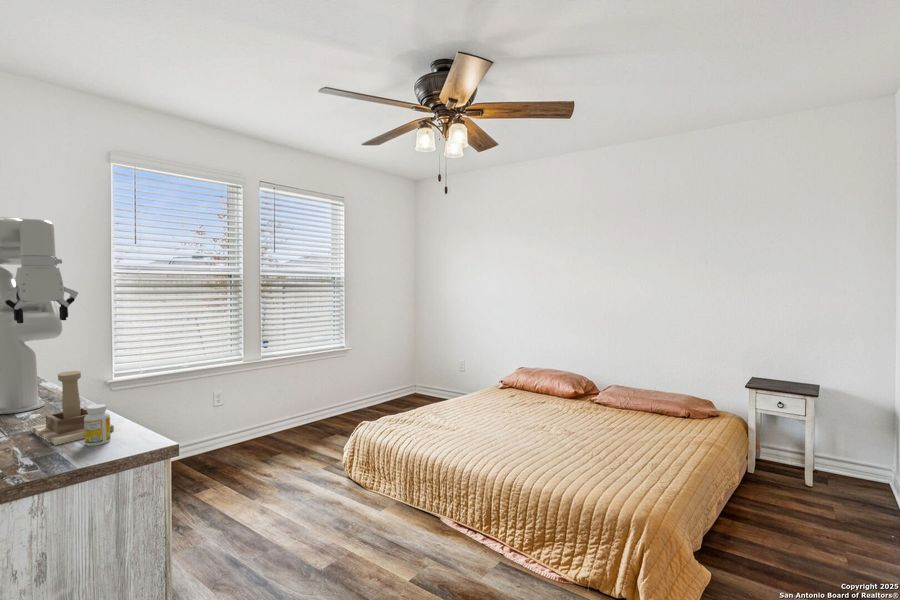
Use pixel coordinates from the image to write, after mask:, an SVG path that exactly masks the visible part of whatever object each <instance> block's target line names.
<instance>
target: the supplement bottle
mask: <svg viewBox="0 0 900 600" xmlns="http://www.w3.org/2000/svg"><path fill="white" fill-rule="evenodd" d="M86 408H87V413H88V415H86V416H85V418H84V432H85V438H84V445H85V446H88V447H94V446H95V447H96V446H101V445H104V444H107V443H109V442H110V441H111V432H110V424H111V417H110V415H111V414H110V413H109V412H107V405H106V404H104V403H102V404H101V403H99V404H98V403H97V404H92V405H90V406H87V407H86Z"/></svg>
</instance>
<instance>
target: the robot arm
mask: <svg viewBox="0 0 900 600" xmlns="http://www.w3.org/2000/svg"><path fill="white" fill-rule="evenodd" d="M55 238H56V237H55V225H54V224H53V222H51V221H50V220H46V219H35V218H34V219H33V218H20V217H9V216H8V217H5V216H0V415H8V414H17V413H22V412H28V411H32V410H36V409H40V408H42V407H44V406H46V401H44V400H41V399H40V398H39V386H38V370H37V369H38V367H37V365H38V364H37V355H36V352H35V351H34V350H33V348H31V347H30V346H28V345H27V344H26V343H25V342H30V341H43V340H51V339H55V338H58V337H60V335H61V334H62V332H63V323H62V321H67V318H68V317H69V309H68V307H70V306H71V304H73V303H74V301H76V300H75V299H76V298H77V297H78V294H79V292H78V291H77V290H73V289H71V288H69V287H65V286H64V282H63V276H62V273H61V270H60V267H57V266H58V265H60V264H61V265H62V264H63V260H62V258H57V255H56V243H55V242H56V240H55ZM1 265H12V266H13V265H15V266H19V265H21V266H20V267H17V268H16V273H15V275H14V274H13V273H12V272H10V271H9V270H8V269H7V268H5V267H2V266H1ZM65 293H67V294H69V297H68V298H67V299H65ZM56 303H58V304H59V305H60V306H59V307H58V306H57V305H56ZM57 307H58V308H57Z"/></svg>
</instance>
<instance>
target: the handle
mask: <svg viewBox="0 0 900 600" xmlns="http://www.w3.org/2000/svg"><path fill="white" fill-rule="evenodd" d="M81 374H82V372H81V371H80V370H70V371H62V372H60V373H58V374H57V379H58V381H60V382H61V383H62V384H61V385H62V389H61V390H62V392H61V394H62V396H61V397H62V398H61V399H62V400H61V401H62V402H61V403H62V404H61V405H62V407H61V408H62V409H61V410H62V412H63V417H64V419H68V418H73V417H77V416H80V413H81V412H80V411H81V408H82V407H81V400H80V399H81V398H80V391H79V383H78V380H79V379H81V378H82V377H81V376H82V375H81Z"/></svg>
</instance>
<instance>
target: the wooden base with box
mask: <svg viewBox="0 0 900 600" xmlns="http://www.w3.org/2000/svg"><path fill="white" fill-rule="evenodd" d="M80 408H81V411H80V412H81V413H80V416H77V417H73V418H68V419H64V417H63V411H60V412H55V413H51V414H45V424H41V425H40V424H39V425H36V426H32V427H31V430H32V433H33V434H34V433H35V434H34V435H36V434H37V435H36V436H38V435H39V436H41V437H43V438H45V439H46V440H48V441H50V442H51V443H53V444H54V445H53V444H52V445H53V446H57V444H59V445H62V443H63V444H66V442H67V443H71V442H74V440H75V441H79V440H83V439H85V432H84V418H85V416H86V415H88V413H87V407H85V406H84V407H80ZM113 430H114V431H115V428H114V425H113V424H111V423H110V431H111V432H114V431H113ZM39 436H38V437H39ZM41 437H40V438H41ZM43 438H42V439H43ZM82 438H83V439H82ZM45 439H44V440H45ZM78 439H79V440H78ZM46 440H45V441H46ZM48 441H47V442H48ZM70 441H71V442H70ZM50 442H49V443H50ZM51 443H50V444H51Z"/></svg>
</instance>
